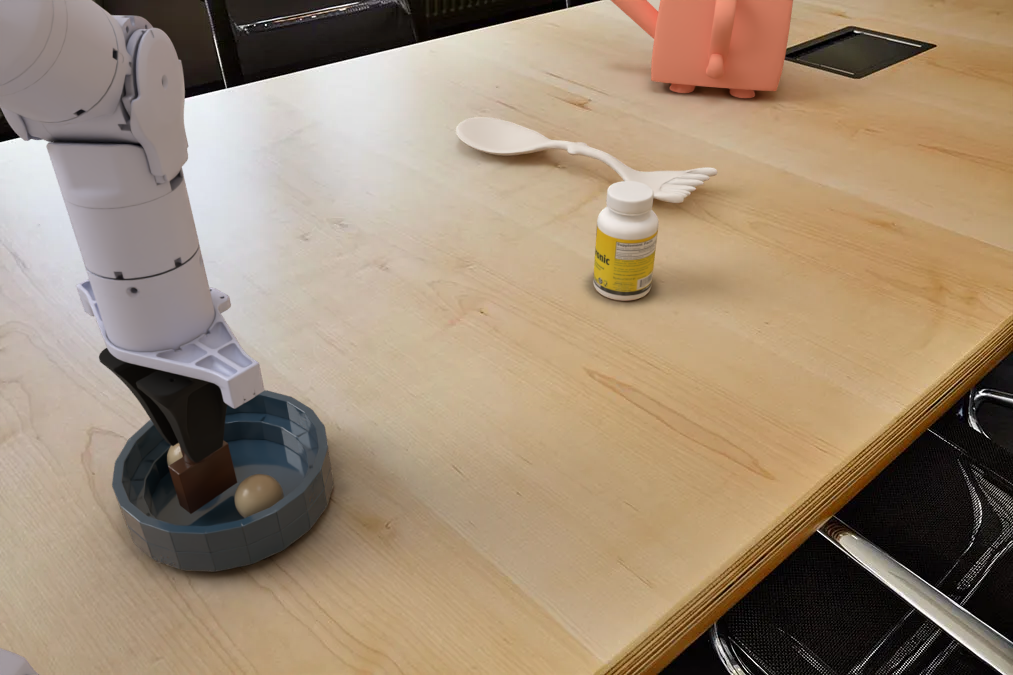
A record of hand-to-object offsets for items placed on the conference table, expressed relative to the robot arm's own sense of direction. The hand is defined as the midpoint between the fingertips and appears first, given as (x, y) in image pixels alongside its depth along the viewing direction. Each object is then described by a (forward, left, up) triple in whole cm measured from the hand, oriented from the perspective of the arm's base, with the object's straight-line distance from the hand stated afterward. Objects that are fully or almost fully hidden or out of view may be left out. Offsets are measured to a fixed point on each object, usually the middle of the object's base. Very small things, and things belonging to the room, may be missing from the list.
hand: (195, 444), depth 53 cm
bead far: (+1, +3, -4) cm, 5 cm away
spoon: (+59, +12, -6) cm, 60 cm away
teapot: (+96, +17, -6) cm, 97 cm away
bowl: (+2, 0, -6) cm, 6 cm away
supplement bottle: (+41, -6, -6) cm, 42 cm away
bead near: (+2, -3, -4) cm, 5 cm away
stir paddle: (0, 0, -4) cm, 4 cm away
